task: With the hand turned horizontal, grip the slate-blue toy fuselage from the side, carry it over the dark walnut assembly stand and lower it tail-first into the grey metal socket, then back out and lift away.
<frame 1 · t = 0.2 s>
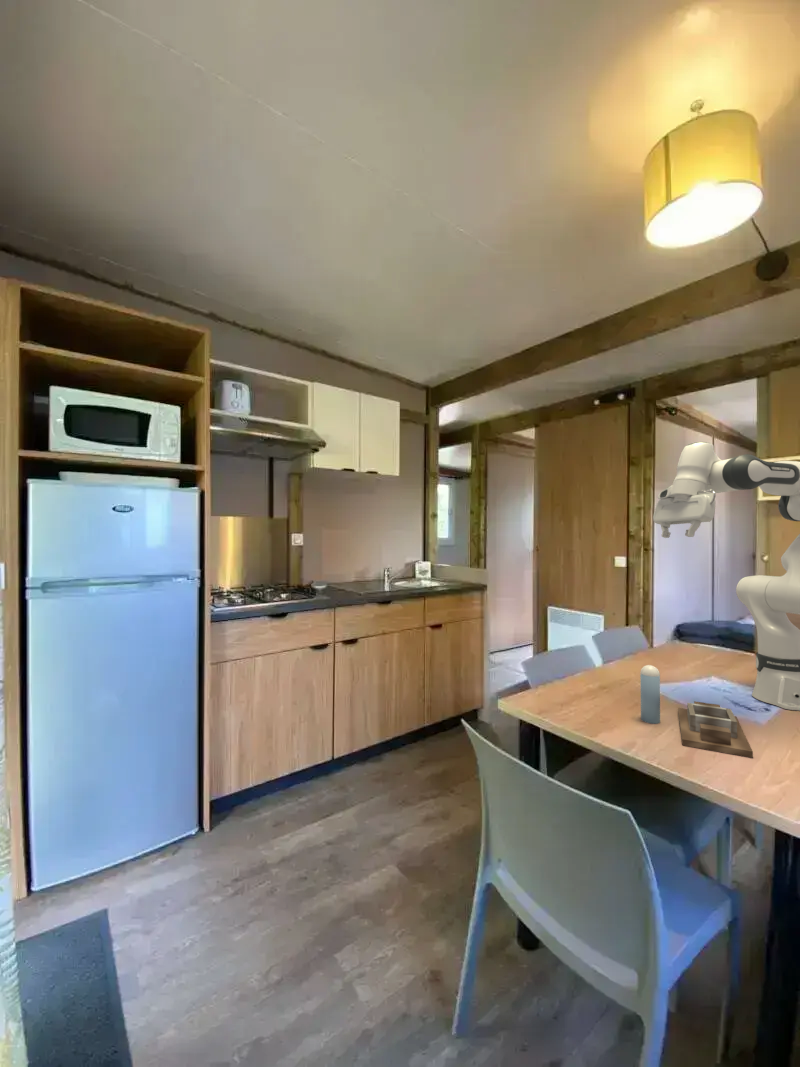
hand: (676, 536, 139), 52 cm above the table, tool tilted 15°, fingers open, 8 cm apart
fuselage: (650, 720, 130), on the table
cradle: (711, 732, 121), on the table
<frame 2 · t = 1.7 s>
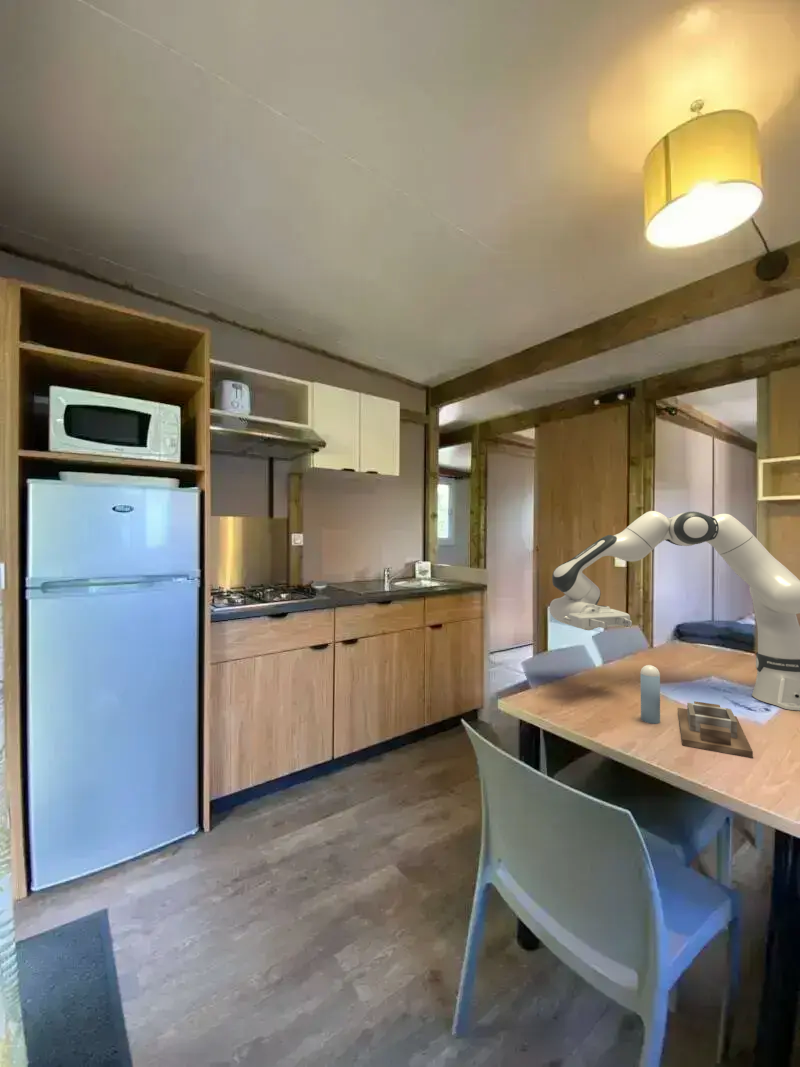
hand: (617, 624, 141), 25 cm above the table, tool horizontal, fingers open, 8 cm apart
nothing on the table moved.
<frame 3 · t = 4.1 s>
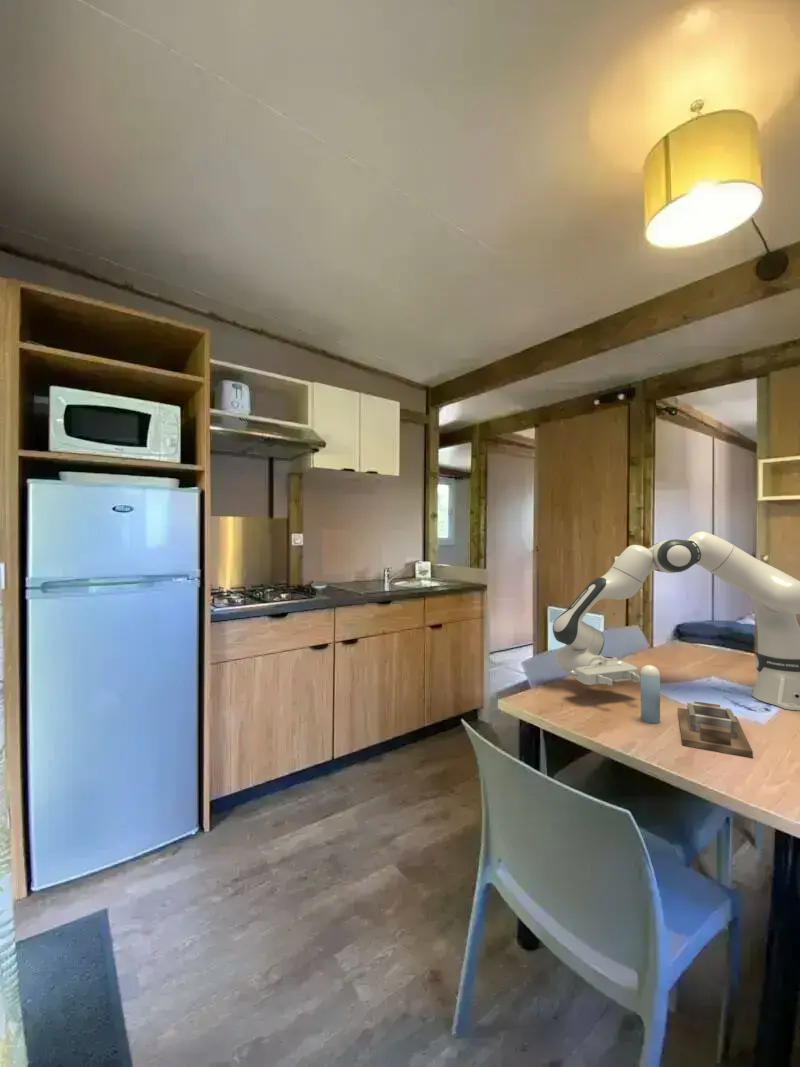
hand: (625, 681, 139), 8 cm above the table, tool horizontal, fingers open, 8 cm apart
nothing on the table moved.
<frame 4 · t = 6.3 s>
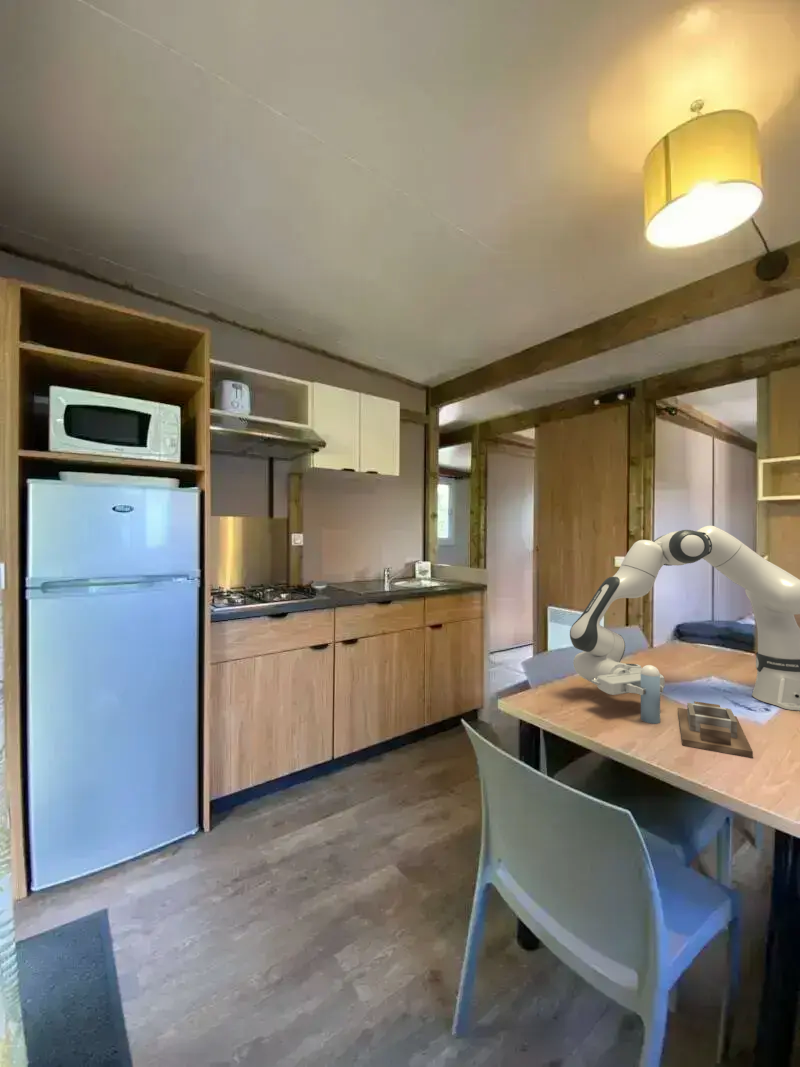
hand: (652, 690, 129), 9 cm above the table, tool horizontal, fingers closed on fuselage, 5 cm apart
fuselage: (650, 720, 130), on the table, touching gripper
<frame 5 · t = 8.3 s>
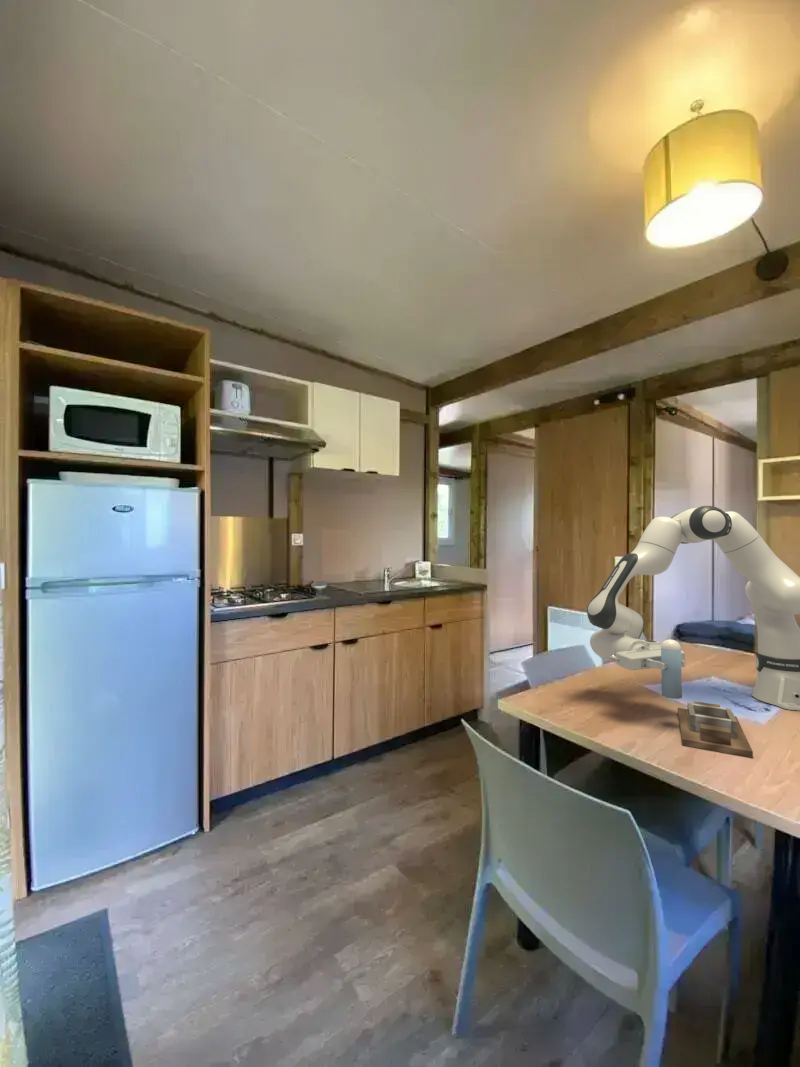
hand: (674, 665, 126), 16 cm above the table, tool horizontal, fingers closed on fuselage, 5 cm apart
fuselage: (671, 695, 127), point 8 cm above the table, touching gripper
when the fingers open (11 cm above the table, at t = 10.5 s): fuselage drops 1 cm, resting on cradle.
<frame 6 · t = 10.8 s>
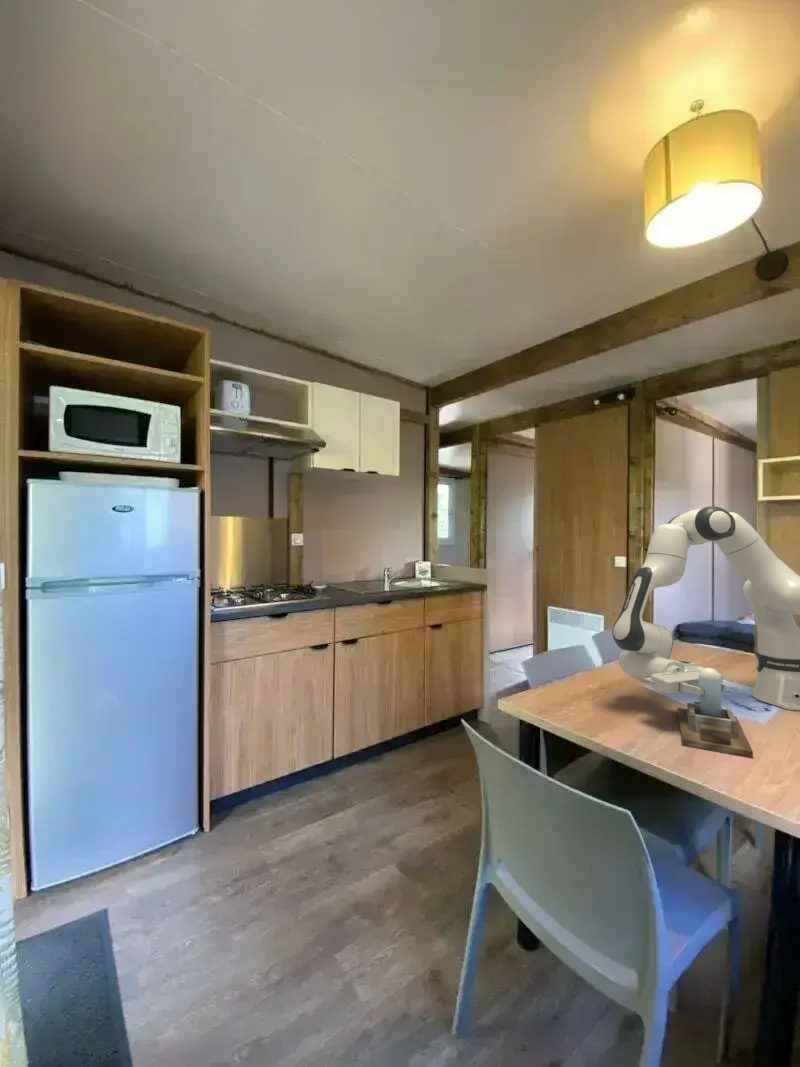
hand: (713, 690, 121), 11 cm above the table, tool horizontal, fingers open, 7 cm apart
fuselage: (711, 726, 121), point 2 cm above the table, touching cradle
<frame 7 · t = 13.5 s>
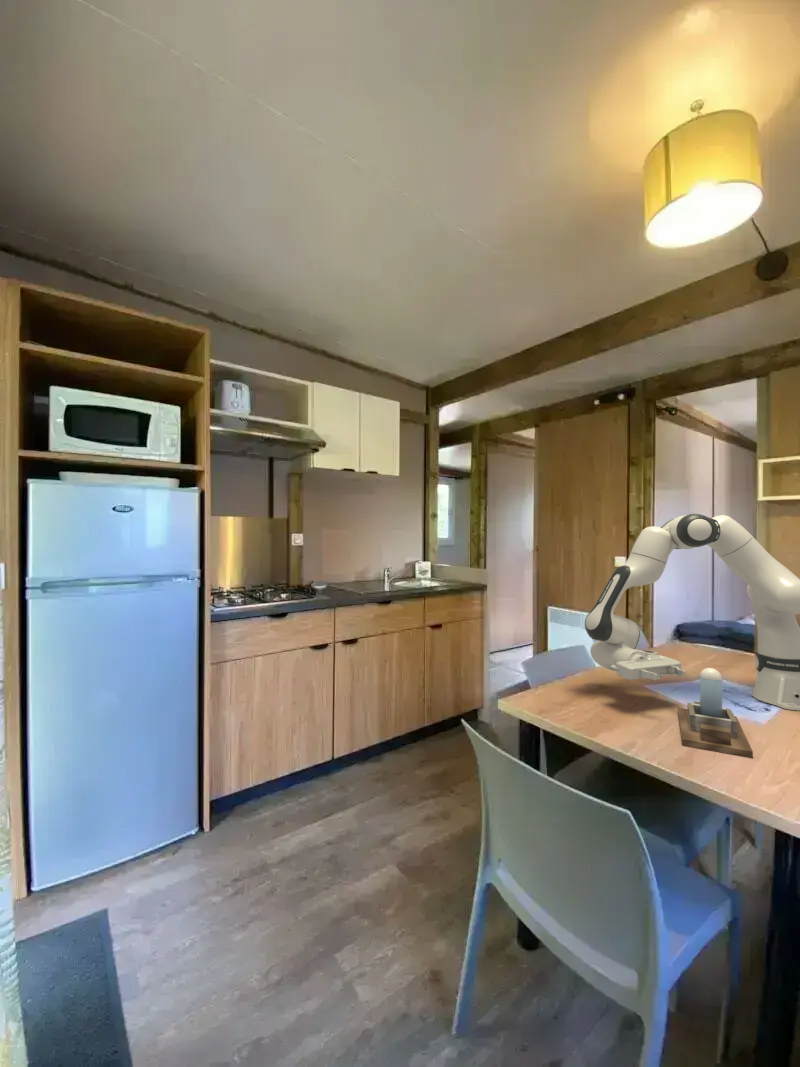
hand: (671, 675, 133), 12 cm above the table, tool horizontal, fingers open, 8 cm apart
nothing on the table moved.
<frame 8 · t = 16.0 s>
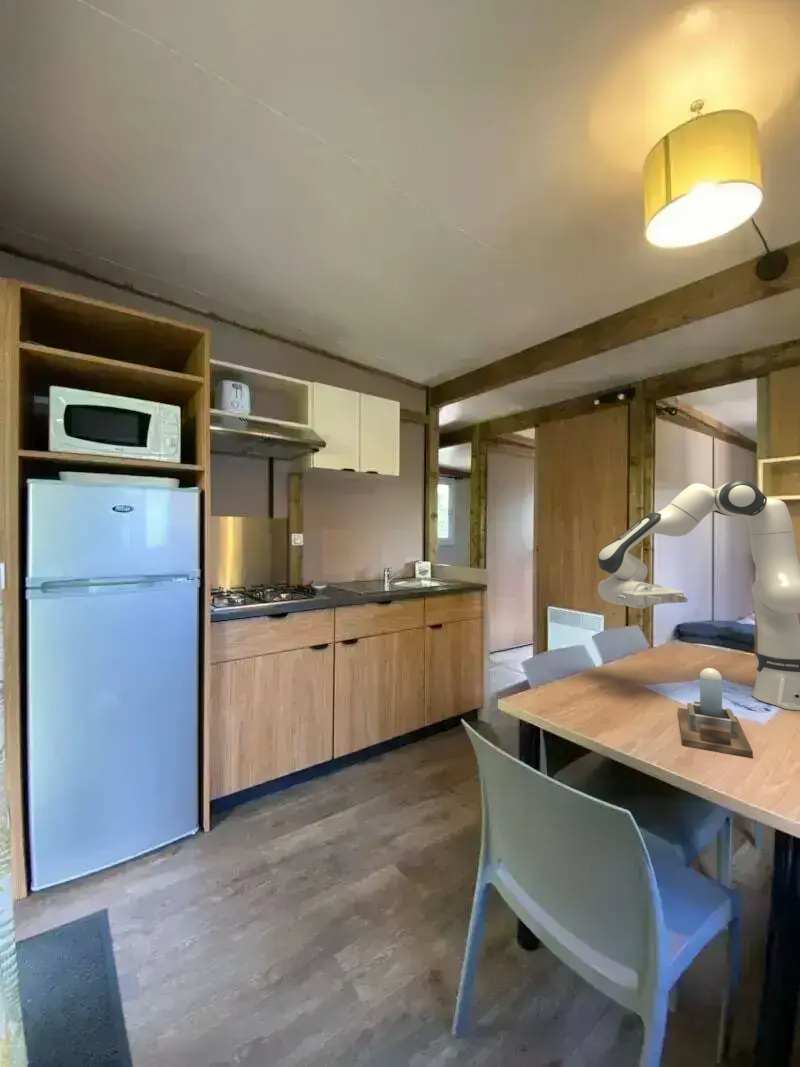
hand: (674, 600, 142), 32 cm above the table, tool horizontal, fingers open, 8 cm apart
nothing on the table moved.
at the end: fuselage 0.0 cm off-centre on the cradle, point 1.5 cm above the cradle's base; fuselage tilted 0°; the gripper is holding nothing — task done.
